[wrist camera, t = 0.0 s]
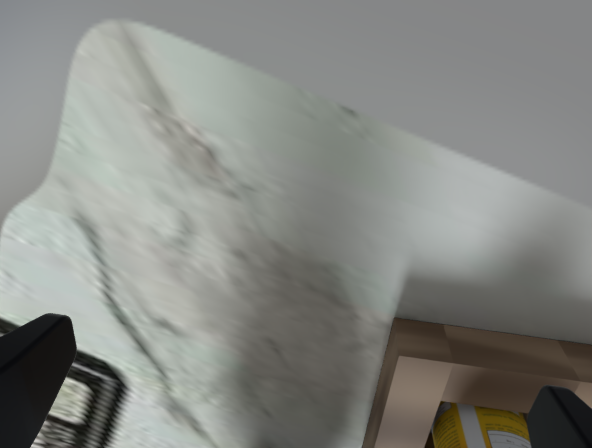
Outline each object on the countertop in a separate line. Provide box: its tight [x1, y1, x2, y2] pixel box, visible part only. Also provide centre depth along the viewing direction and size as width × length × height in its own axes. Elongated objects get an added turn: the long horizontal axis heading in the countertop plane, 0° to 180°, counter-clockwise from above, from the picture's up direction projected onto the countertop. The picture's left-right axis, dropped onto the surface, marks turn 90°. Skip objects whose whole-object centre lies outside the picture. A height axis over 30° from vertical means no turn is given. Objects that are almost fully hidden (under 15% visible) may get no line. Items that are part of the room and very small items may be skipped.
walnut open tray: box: [362, 318, 592, 448], centre depth 28 cm, size 12×12×3 cm
